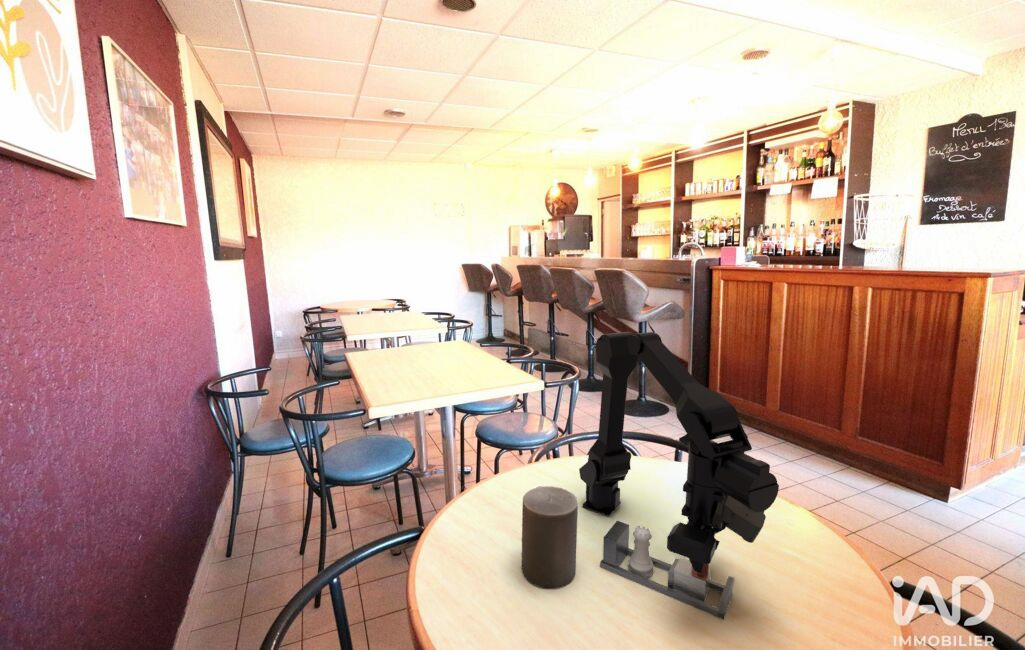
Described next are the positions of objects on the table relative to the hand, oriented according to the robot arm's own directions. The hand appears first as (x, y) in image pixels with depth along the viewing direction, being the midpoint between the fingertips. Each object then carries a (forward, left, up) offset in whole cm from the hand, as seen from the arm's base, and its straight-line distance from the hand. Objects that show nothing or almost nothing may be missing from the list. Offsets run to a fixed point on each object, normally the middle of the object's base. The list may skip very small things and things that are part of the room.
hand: (700, 566), depth 77 cm
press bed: (-6, 0, -5) cm, 8 cm away
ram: (-1, 0, -5) cm, 5 cm away
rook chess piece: (-10, 0, -5) cm, 11 cm away
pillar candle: (-23, -9, -5) cm, 26 cm away
